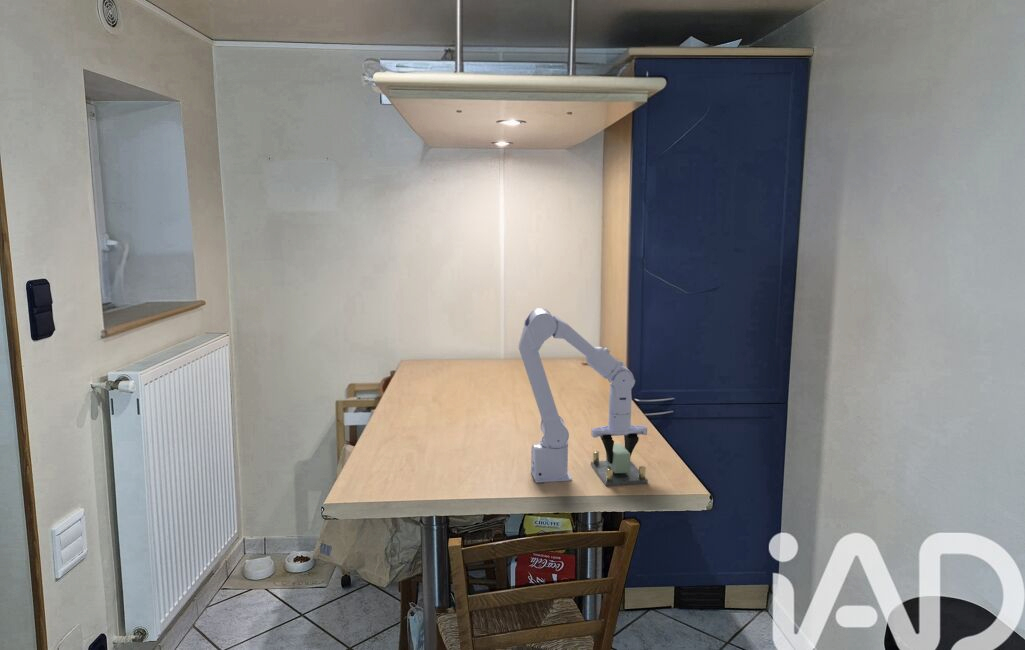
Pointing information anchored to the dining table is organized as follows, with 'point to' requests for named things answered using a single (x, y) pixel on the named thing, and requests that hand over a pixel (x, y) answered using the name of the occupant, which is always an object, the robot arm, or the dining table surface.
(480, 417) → the dining table surface
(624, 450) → the board block
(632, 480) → the plate
